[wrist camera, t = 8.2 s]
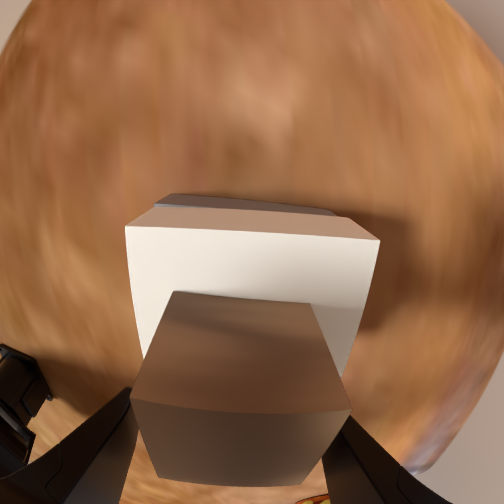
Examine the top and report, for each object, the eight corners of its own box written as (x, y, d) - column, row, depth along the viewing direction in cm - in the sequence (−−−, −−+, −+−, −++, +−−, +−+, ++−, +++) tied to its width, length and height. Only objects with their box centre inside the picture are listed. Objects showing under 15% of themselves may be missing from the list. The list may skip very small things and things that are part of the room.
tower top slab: (167, 357, 15) (154, 400, 12) (155, 206, 12) (124, 226, 9) (316, 364, 16) (329, 406, 12) (348, 217, 12) (380, 240, 9)
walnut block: (177, 384, 11) (158, 477, 7) (172, 291, 10) (129, 396, 5) (284, 392, 12) (300, 484, 7) (309, 303, 10) (352, 409, 5)
